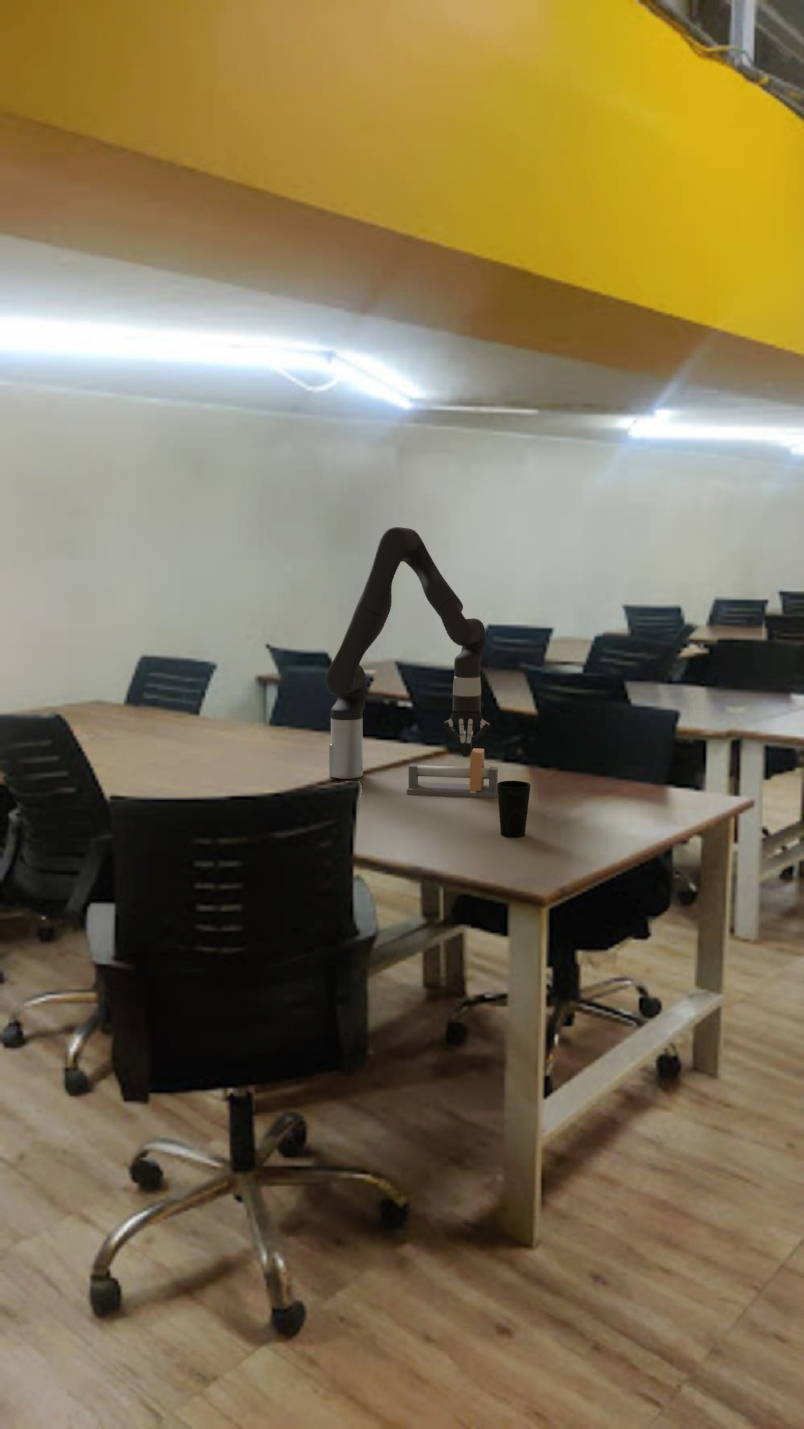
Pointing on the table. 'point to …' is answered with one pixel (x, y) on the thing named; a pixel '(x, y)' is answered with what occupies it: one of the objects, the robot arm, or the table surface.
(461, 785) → the pipe rail
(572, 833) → the table surface
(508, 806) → the cup
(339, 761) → the robot arm
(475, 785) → the collar
